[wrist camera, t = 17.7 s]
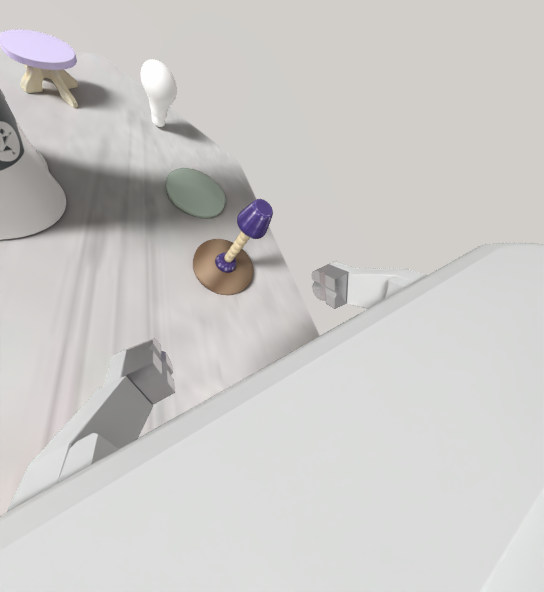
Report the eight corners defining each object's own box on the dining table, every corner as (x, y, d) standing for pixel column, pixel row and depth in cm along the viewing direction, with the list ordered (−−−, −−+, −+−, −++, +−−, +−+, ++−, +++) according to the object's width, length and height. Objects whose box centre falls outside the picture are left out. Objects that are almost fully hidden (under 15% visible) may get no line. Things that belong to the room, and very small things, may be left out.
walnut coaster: (183, 282, 35) (184, 279, 34) (203, 233, 41) (204, 229, 40) (245, 303, 40) (247, 301, 39) (255, 256, 45) (257, 253, 44)
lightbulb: (168, 118, 47) (171, 58, 38) (177, 139, 46) (183, 82, 37) (138, 111, 44) (135, 43, 35) (147, 133, 43) (146, 69, 34)
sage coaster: (156, 198, 38) (156, 194, 37) (178, 163, 44) (178, 158, 43) (216, 227, 43) (217, 223, 42) (229, 192, 49) (230, 188, 48)
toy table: (66, 70, 39) (55, 28, 34) (101, 108, 39) (94, 72, 35) (-3, 65, 33) (-28, 13, 28) (39, 109, 34) (21, 66, 29)
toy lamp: (241, 267, 41) (284, 212, 28) (227, 280, 38) (266, 227, 25) (224, 250, 40) (260, 186, 27) (208, 262, 38) (239, 198, 24)
